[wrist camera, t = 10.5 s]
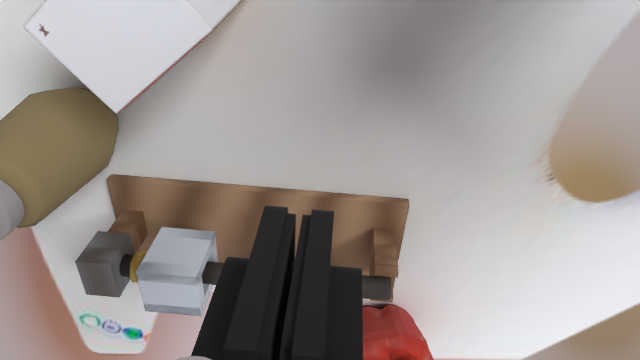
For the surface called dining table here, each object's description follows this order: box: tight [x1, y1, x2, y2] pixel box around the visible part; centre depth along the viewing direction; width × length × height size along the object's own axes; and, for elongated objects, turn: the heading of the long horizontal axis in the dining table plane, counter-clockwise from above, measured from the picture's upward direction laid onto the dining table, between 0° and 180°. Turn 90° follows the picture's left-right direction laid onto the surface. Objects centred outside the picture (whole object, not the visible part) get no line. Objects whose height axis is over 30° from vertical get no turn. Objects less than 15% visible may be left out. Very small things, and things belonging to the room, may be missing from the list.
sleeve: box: [136, 227, 218, 316], centre depth 40 cm, size 5×5×6 cm
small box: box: [24, 0, 241, 113], centre depth 28 cm, size 8×6×13 cm
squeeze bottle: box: [0, 88, 118, 240], centre depth 33 cm, size 8×8×18 cm
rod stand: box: [75, 174, 409, 302], centre depth 42 cm, size 29×10×9 cm, turn 87°
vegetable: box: [362, 305, 434, 360], centre depth 48 cm, size 11×10×10 cm
